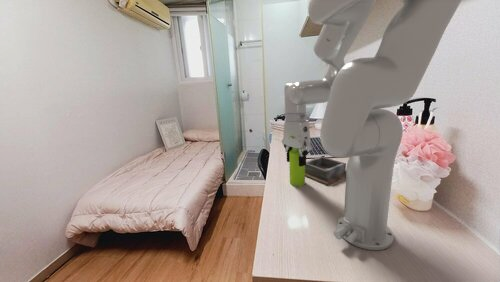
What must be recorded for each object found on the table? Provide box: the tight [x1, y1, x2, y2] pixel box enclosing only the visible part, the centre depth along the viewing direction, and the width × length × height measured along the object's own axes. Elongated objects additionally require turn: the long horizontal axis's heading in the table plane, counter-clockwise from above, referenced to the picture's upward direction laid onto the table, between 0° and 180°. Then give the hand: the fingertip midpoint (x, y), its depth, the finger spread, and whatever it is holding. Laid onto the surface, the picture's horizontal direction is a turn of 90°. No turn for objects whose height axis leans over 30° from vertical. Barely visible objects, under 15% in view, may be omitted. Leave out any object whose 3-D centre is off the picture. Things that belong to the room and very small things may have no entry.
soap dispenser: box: [288, 136, 306, 187], centre depth 80 cm, size 6×7×20 cm
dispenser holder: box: [305, 155, 347, 186], centre depth 88 cm, size 16×16×5 cm
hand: (296, 162), depth 80 cm, fingers closed on soap dispenser, 5 cm apart
